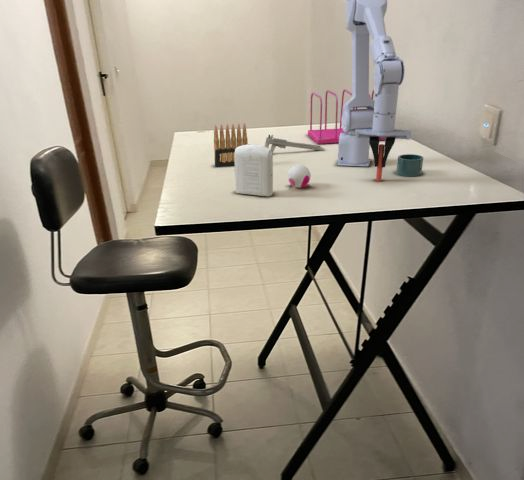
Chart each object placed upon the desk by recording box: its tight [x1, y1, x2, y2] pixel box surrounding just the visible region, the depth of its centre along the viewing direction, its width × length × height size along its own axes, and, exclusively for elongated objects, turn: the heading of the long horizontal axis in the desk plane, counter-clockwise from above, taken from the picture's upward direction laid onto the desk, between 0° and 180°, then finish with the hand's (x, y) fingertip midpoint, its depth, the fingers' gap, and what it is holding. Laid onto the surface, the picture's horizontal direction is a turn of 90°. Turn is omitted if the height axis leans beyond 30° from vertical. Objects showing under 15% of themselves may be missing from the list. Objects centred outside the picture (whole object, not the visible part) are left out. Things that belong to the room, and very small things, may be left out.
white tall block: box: [234, 143, 274, 197], centre depth 136 cm, size 10×4×12 cm, turn 68°
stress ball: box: [287, 164, 311, 189], centre depth 142 cm, size 8×8×7 cm
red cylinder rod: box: [375, 143, 385, 182], centre depth 144 cm, size 2×2×10 cm
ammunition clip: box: [213, 123, 249, 168], centre depth 162 cm, size 11×2×12 cm, turn 101°
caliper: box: [264, 134, 325, 154], centre depth 176 cm, size 20×1×6 cm, turn 102°
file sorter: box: [307, 88, 386, 145], centre depth 191 cm, size 17×25×16 cm
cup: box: [396, 153, 424, 177], centre depth 151 cm, size 7×7×4 cm
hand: (379, 166), depth 145 cm, fingers closed on red cylinder rod, 1 cm apart
